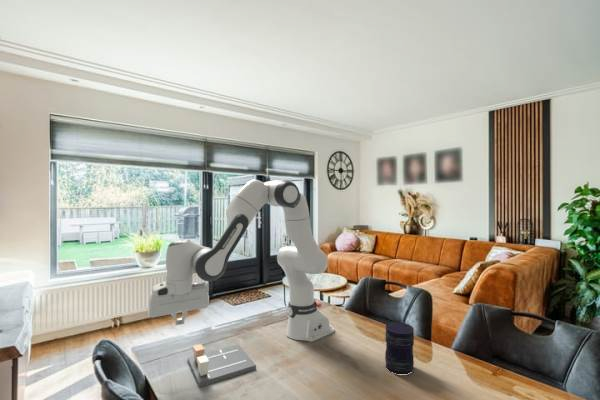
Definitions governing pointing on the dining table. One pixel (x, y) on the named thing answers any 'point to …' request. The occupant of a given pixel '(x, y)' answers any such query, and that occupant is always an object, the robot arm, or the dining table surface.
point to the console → (223, 364)
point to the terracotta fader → (198, 351)
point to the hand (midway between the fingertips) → (179, 324)
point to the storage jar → (399, 347)
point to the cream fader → (203, 365)
